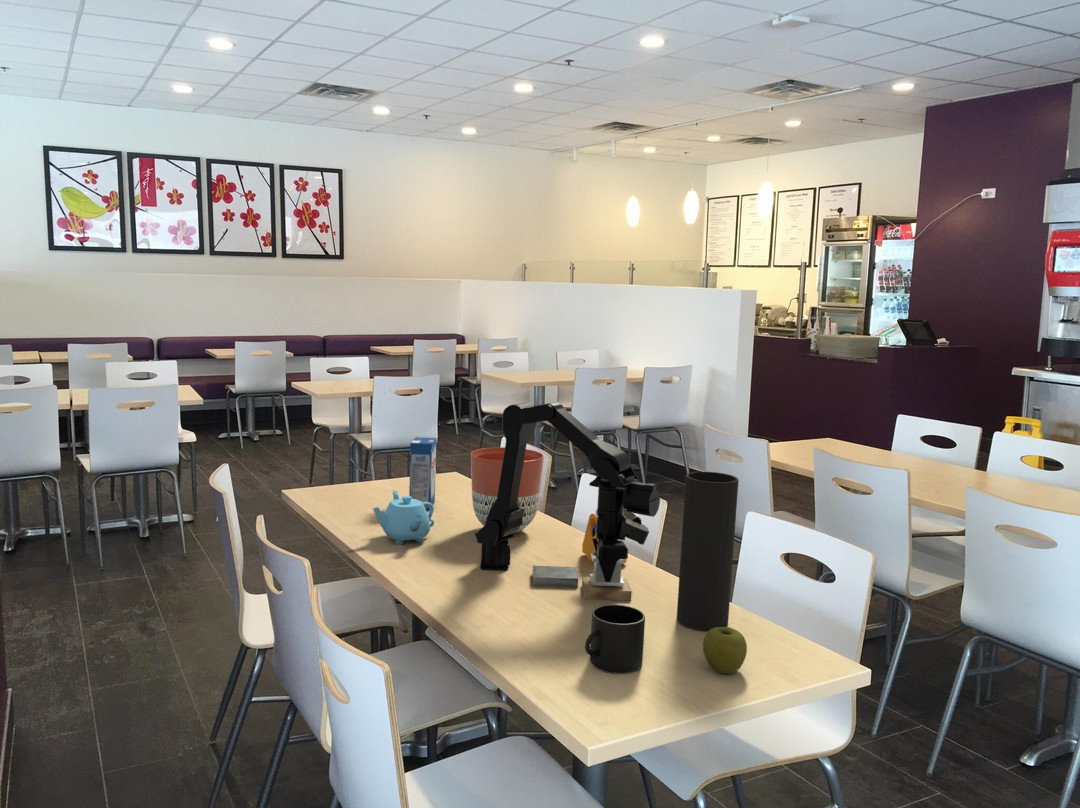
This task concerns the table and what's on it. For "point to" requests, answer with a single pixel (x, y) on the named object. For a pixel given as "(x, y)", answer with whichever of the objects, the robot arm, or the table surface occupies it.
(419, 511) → the teapot
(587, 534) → the bracket
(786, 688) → the table surface
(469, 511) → the table surface
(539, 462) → the planter
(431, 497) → the milk carton
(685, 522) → the vase
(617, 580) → the block
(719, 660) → the apple
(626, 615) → the mug
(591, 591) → the stand
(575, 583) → the stand
